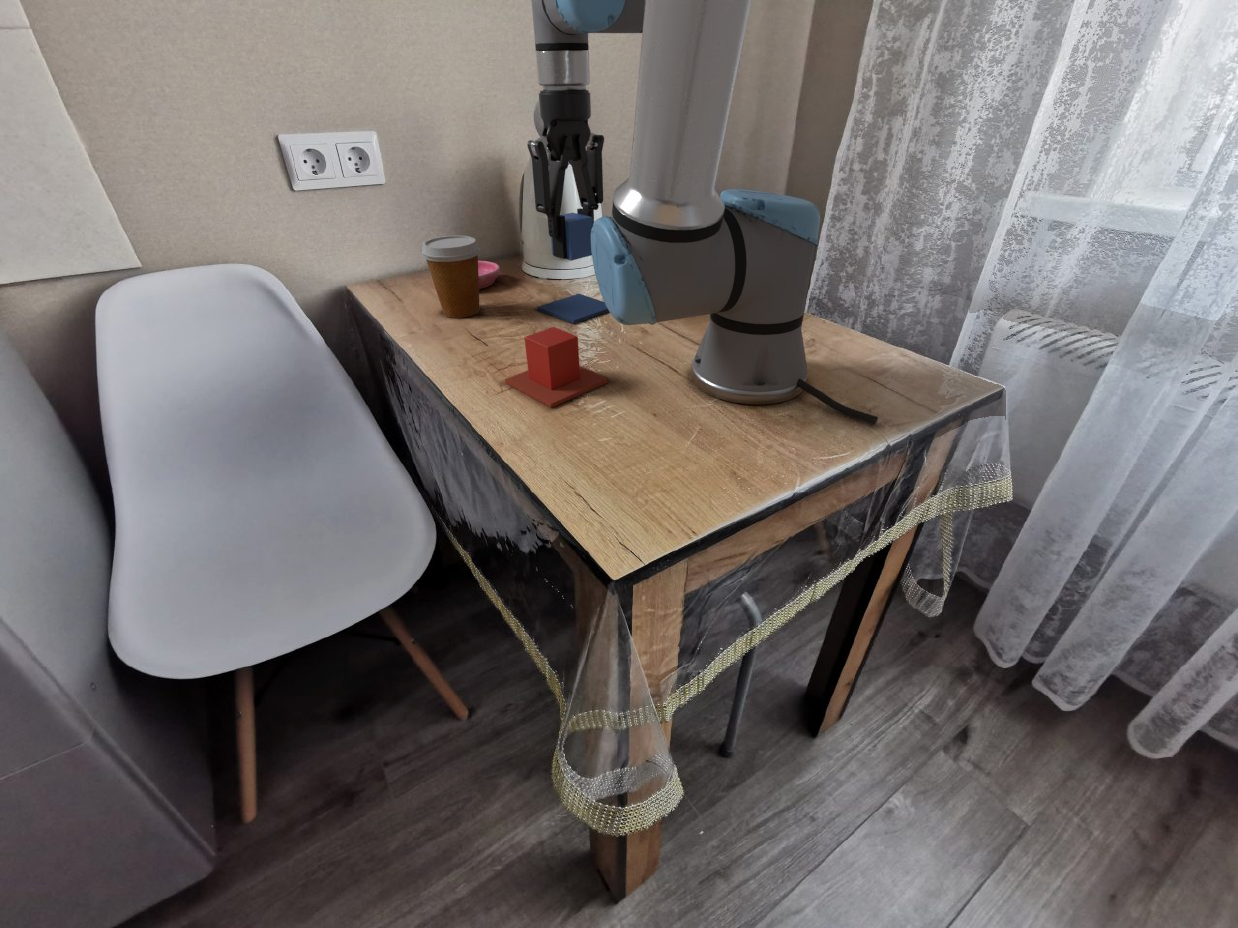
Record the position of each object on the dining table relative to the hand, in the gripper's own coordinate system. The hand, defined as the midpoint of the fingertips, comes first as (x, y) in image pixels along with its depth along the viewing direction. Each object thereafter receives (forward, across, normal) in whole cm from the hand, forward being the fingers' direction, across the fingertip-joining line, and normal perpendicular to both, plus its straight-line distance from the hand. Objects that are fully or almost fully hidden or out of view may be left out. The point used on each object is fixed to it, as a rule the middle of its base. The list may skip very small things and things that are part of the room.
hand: (573, 253), depth 94 cm
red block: (+9, +21, +20) cm, 30 cm away
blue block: (0, 0, 0) cm, 0 cm away
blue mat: (+10, 0, 0) cm, 10 cm away
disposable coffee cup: (+10, +15, -14) cm, 23 cm away
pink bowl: (+10, +5, -27) cm, 29 cm away
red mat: (+10, +21, +20) cm, 31 cm away
